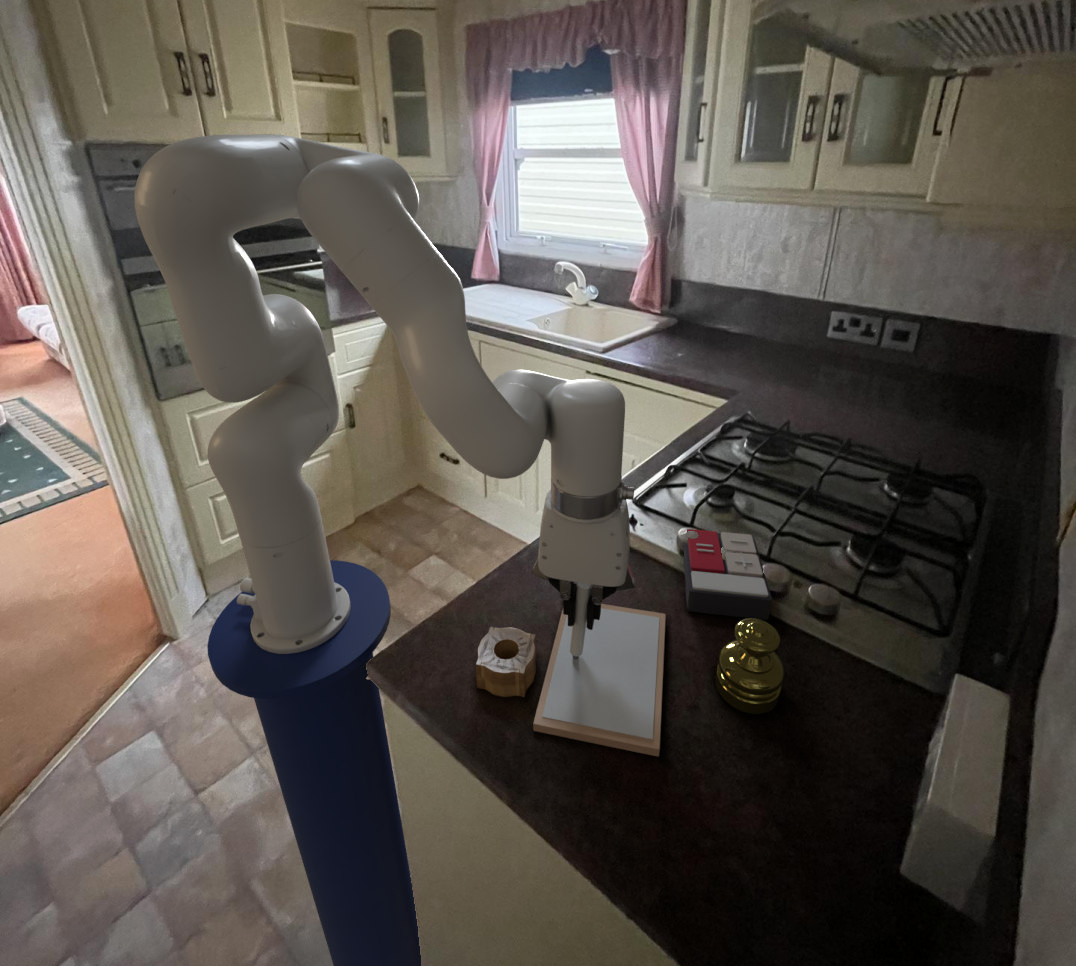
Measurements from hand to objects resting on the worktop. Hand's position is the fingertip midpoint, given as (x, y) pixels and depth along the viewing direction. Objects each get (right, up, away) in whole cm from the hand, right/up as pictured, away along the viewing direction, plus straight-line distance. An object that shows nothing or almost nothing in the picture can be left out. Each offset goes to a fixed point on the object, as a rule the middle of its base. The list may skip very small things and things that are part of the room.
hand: (581, 618), depth 72 cm
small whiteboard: (+3, -7, +3) cm, 9 cm away
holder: (-9, -8, +2) cm, 12 cm away
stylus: (-1, -6, +3) cm, 7 cm away
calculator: (+22, -1, +17) cm, 28 cm away
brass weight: (+20, -9, 0) cm, 22 cm away
